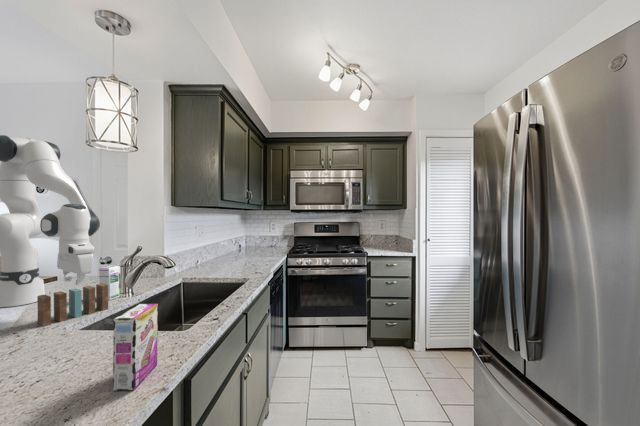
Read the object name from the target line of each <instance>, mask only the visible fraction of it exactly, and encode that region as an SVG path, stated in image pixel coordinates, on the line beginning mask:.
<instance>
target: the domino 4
mask: <svg viewBox="0 0 640 426" xmlns="http://www.w3.org/2000/svg"><path fill="white" fill-rule="evenodd" d="M84 312H85V313H84ZM82 313H84V314H87V313H88V315H92V314H96V286H91V285H86V286H83V287H82Z"/></svg>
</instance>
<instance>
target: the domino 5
mask: <svg viewBox="0 0 640 426" xmlns="http://www.w3.org/2000/svg"><path fill="white" fill-rule="evenodd" d="M96 309H97V310H98V311H102V312H104V311H106V310H109V300H108V285H107V284H102V283H101V284H99V283H97V284H95V310H96Z"/></svg>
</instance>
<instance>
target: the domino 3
mask: <svg viewBox="0 0 640 426" xmlns="http://www.w3.org/2000/svg"><path fill="white" fill-rule="evenodd" d="M68 312H69V313H68V315H69V316H70V317H72V318H74V319H77V318H80V316H81V317H83V316H82V315H83V314H82V313H83V304H82V290H81V289H78V288H71V289H68Z"/></svg>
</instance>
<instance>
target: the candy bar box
mask: <svg viewBox="0 0 640 426" xmlns="http://www.w3.org/2000/svg"><path fill="white" fill-rule="evenodd" d="M158 310H159V305H158V303H139V304H138V305H136V306H134V307H132V308H130V309H129V310H126V311H125V312H124V313H121V314H119V315H118V316H117V317H115V318H113V350H112V351H113V352H112V353H113V360H112V362H113V365H112V391H113V392H123V391H122V390H133V391H135V390H136V389H137V388H138V387H137V386H139V385H141V383H142V382H143V381H144V380H145V379H146V378H147V377H148V376H149V374H150V373H151V372H152V371H153V370H154V369H155V368H156V367H157V365H158V321H159V320H158V319H159V317H158V313H159V311H158Z"/></svg>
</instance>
